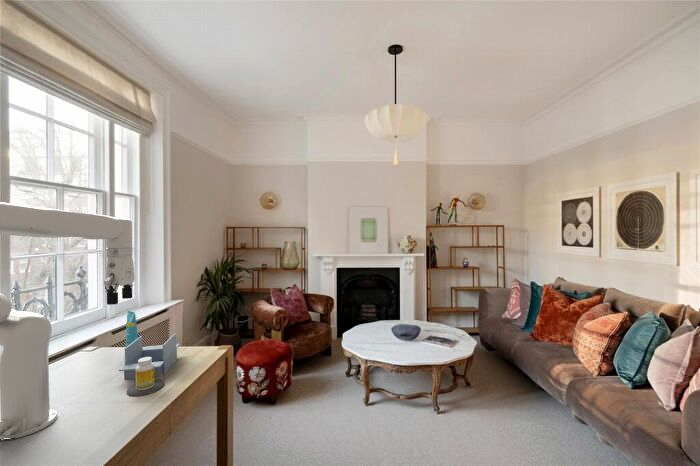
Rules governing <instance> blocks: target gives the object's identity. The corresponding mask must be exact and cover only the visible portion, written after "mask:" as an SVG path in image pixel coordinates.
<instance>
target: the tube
mask: <svg viewBox="0 0 700 466" xmlns="http://www.w3.org/2000/svg"><path fill="white" fill-rule="evenodd" d="M126 312H127V315H126V325H125V326H126V328H125V329H126V331H125V348H126V347H127V346H128V345H130V344H131V343H132V342H134V341H135V340H136V339H137V338H139V337H138V336H139V333H138V326H137V325H138V323H137V317H136V312H135V311H132V310H127V311H126Z"/></svg>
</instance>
